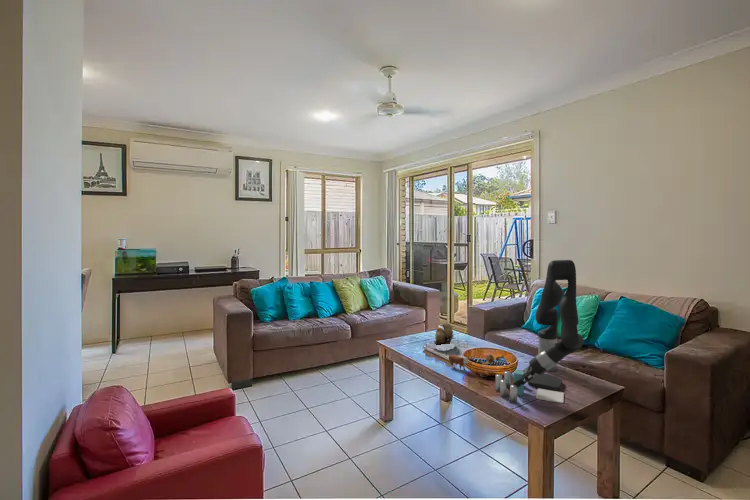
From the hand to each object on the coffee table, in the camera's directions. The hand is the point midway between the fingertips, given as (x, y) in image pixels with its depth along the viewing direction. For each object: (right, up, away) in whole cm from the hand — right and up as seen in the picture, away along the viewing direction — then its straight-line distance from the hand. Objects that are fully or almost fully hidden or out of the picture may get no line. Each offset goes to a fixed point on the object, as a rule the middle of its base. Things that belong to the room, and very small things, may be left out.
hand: (515, 383), depth 174 cm
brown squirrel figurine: (-20, -2, +70) cm, 73 cm away
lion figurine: (-6, -4, +24) cm, 25 cm away
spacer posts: (-3, -5, +2) cm, 6 cm away
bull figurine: (-19, -4, +31) cm, 37 cm away
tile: (+14, -5, -4) cm, 15 cm away
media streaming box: (+18, -4, +10) cm, 21 cm away
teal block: (+1, -5, 0) cm, 5 cm away
